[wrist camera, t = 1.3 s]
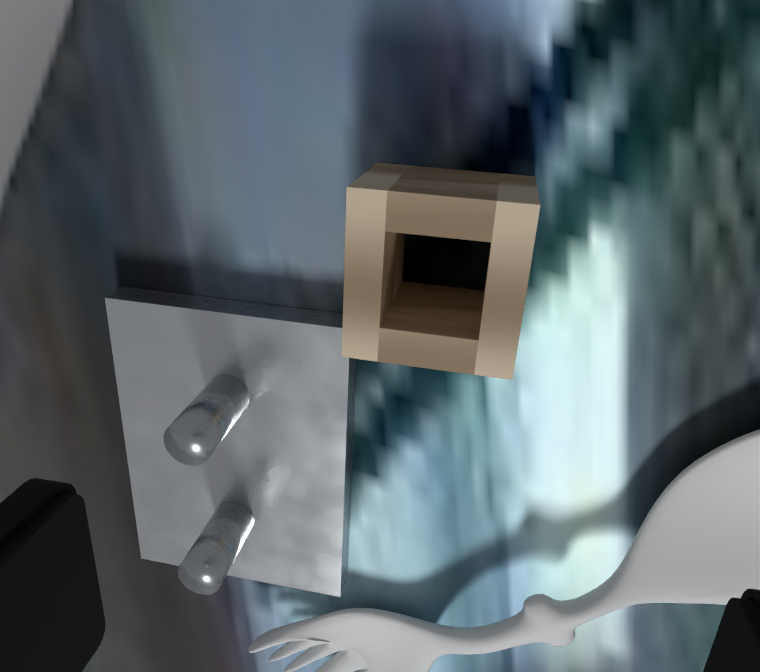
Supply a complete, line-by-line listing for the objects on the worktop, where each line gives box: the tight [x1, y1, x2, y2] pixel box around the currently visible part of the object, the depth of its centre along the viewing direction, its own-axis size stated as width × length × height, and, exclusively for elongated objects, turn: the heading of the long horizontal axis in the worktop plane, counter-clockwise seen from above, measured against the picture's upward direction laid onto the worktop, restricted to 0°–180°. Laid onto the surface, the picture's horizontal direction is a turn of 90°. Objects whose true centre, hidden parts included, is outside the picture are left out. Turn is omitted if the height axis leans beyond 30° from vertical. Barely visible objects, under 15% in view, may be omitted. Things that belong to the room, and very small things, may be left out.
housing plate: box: [105, 287, 356, 597], centre depth 29 cm, size 15×11×6 cm
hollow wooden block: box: [342, 163, 540, 380], centre depth 23 cm, size 6×6×5 cm
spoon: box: [249, 429, 760, 672], centre depth 29 cm, size 9×32×4 cm, turn 125°
